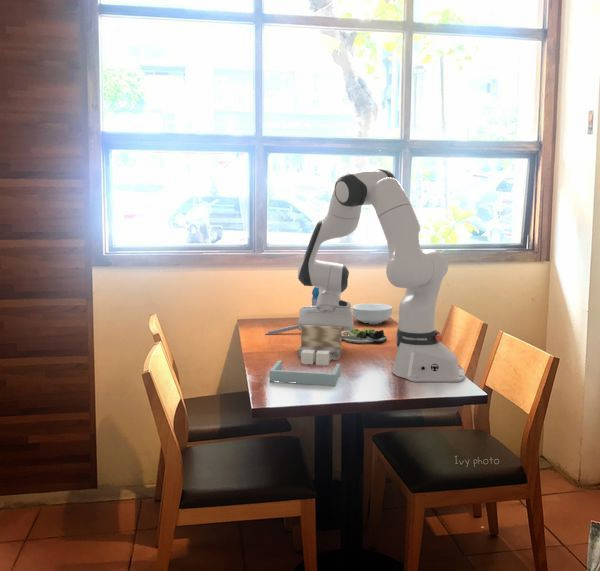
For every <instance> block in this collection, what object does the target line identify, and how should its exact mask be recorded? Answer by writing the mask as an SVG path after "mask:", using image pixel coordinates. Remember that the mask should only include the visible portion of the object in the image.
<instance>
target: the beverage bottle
mask: <svg viewBox="0 0 600 571" xmlns="http://www.w3.org/2000/svg"><path fill="white" fill-rule="evenodd" d="M311 294H312V296H311V306H316V304H317V298H318V295H319V287H317V286H313V289H312V292H311Z"/></svg>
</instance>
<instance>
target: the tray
mask: <svg viewBox="0 0 600 571" xmlns="http://www.w3.org/2000/svg"><path fill="white" fill-rule="evenodd" d="M340 376H341V363H336V365H335V366H334V368H333V370H332V371H331V373H330V372H313V371H312V372H311V371H297V370H296V371H295V370H283V360H279V359H278V360H277V362H276V363H275V364H274V365H273V366H272V368H271V369H269V382H270V381H279V382H296V383H306V384H305V385H309V384H315V385H314V386H325V385H327V386H326V387H335V386H336V385H337V383H338V381H339V379H338V378H340ZM337 380H338V381H337ZM336 382H337V383H336Z"/></svg>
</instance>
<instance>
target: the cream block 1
mask: <svg viewBox="0 0 600 571" xmlns="http://www.w3.org/2000/svg"><path fill="white" fill-rule="evenodd" d="M301 363H303V364H302V365H308V364H313V363H316V359H315V350H303V351H302V352H301V358H300V364H301ZM313 365H314V364H313Z"/></svg>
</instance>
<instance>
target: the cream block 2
mask: <svg viewBox="0 0 600 571" xmlns="http://www.w3.org/2000/svg"><path fill="white" fill-rule="evenodd" d="M330 361H331V360H330V351H320V350H318V351H317V353H316V359H315V365H316V366H325V365H329V364H330Z"/></svg>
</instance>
